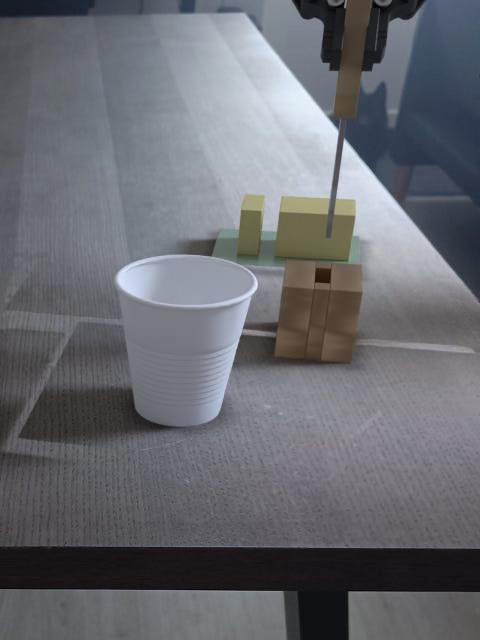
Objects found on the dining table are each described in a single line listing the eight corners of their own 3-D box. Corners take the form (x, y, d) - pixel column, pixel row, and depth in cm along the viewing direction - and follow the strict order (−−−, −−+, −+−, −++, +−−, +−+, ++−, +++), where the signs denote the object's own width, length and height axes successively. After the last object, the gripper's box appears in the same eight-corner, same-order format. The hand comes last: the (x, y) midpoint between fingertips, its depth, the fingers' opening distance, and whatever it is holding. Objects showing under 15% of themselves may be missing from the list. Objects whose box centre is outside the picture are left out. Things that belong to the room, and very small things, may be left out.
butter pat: (261, 238, 106) (265, 195, 103) (257, 255, 102) (262, 210, 99) (241, 237, 106) (245, 194, 104) (236, 254, 102) (240, 209, 100)
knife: (339, 228, 82) (371, -8, 73) (339, 239, 80) (372, -2, 71) (318, 227, 82) (347, -8, 73) (317, 238, 80) (347, -2, 71)
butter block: (349, 243, 104) (355, 199, 101) (349, 261, 100) (355, 215, 97) (277, 239, 105) (281, 195, 103) (274, 256, 101) (279, 211, 99)
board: (357, 250, 106) (359, 235, 106) (357, 286, 98) (360, 271, 97) (218, 242, 110) (219, 228, 109) (208, 276, 102) (209, 261, 101)
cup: (267, 438, 75) (283, 295, 69) (137, 459, 73) (143, 314, 67) (210, 379, 83) (221, 247, 77) (93, 397, 81) (95, 263, 75)
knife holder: (349, 343, 88) (362, 264, 84) (349, 374, 83) (362, 292, 79) (277, 337, 89) (286, 259, 86) (273, 367, 85) (282, 286, 81)
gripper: (280, -185, 74) (251, 30, 71) (487, -195, 70) (468, 31, 67) (276, -105, 81) (251, 94, 78) (465, -110, 78) (446, 97, 74)
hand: (351, 63), depth 72 cm, fingers closed on knife, 1 cm apart
